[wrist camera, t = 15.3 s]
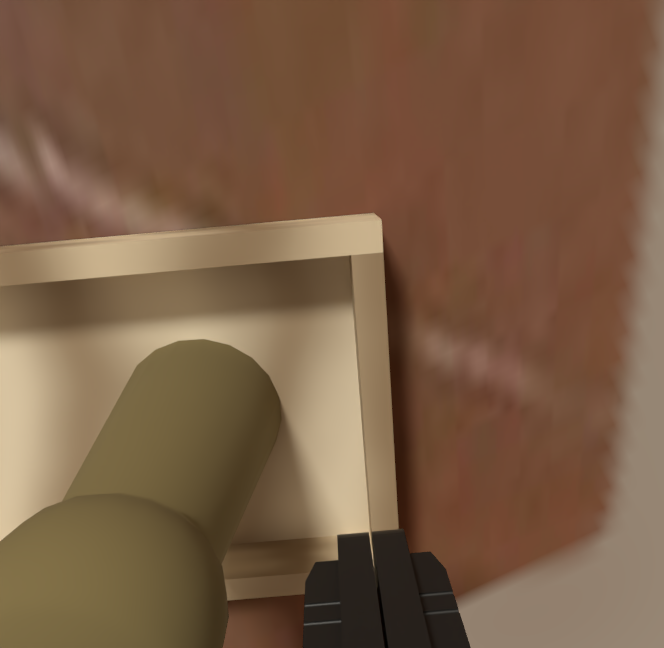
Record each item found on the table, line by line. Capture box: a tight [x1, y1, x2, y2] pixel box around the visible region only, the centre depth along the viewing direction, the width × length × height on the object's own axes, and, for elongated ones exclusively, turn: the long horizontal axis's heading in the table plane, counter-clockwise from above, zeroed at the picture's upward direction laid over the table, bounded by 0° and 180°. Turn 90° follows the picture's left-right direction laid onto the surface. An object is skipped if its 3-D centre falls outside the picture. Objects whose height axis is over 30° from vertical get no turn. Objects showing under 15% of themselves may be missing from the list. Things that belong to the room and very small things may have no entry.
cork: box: [0, 339, 282, 648], centre depth 14 cm, size 6×6×11 cm
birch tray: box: [0, 213, 399, 601], centre depth 19 cm, size 24×14×2 cm, turn 95°
